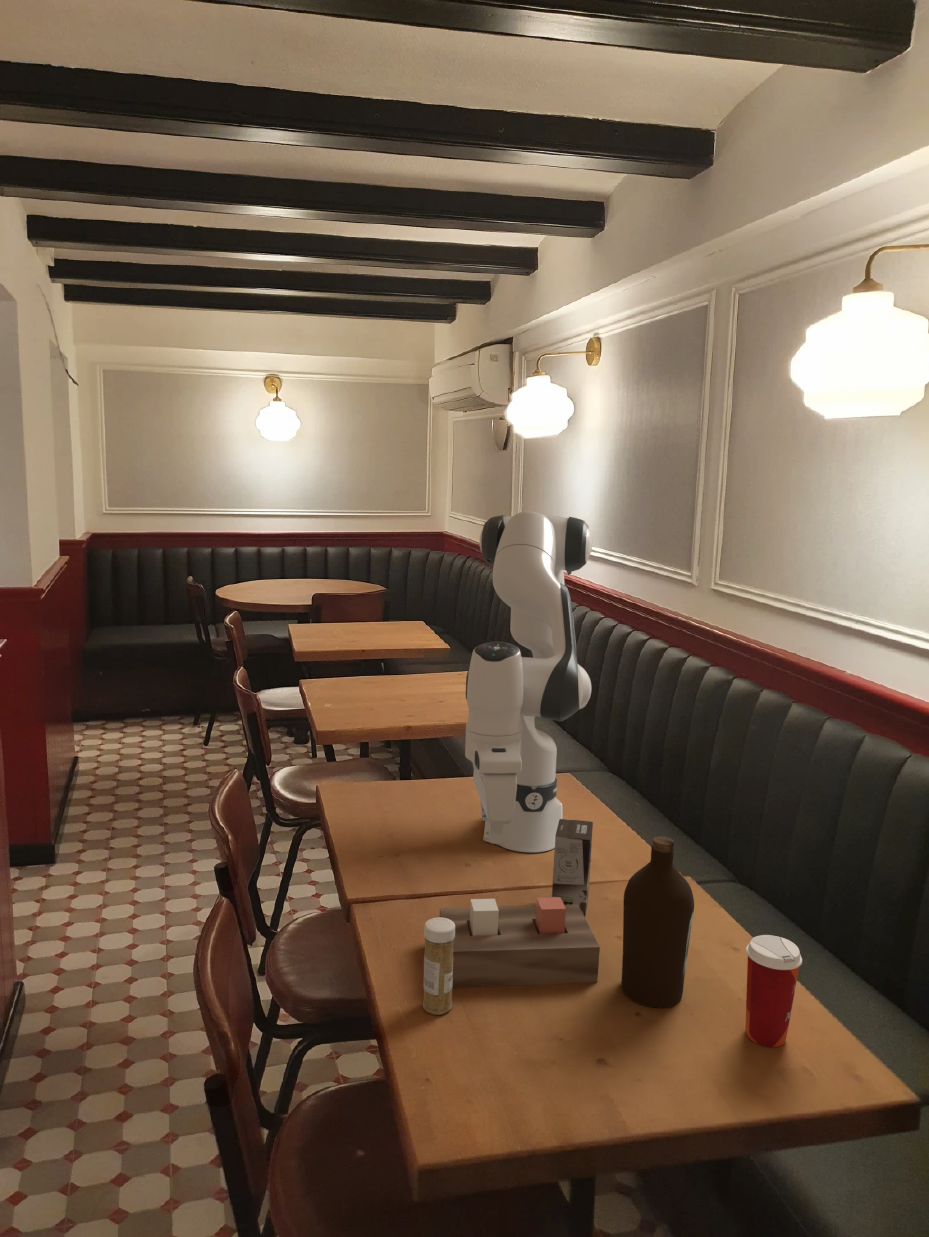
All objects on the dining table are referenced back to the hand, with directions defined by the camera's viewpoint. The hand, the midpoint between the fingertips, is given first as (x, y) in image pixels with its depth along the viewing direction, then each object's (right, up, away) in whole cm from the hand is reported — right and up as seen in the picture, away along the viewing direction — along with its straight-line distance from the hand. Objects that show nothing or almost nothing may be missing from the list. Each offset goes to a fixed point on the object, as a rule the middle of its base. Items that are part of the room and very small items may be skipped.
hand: (490, 830), depth 145 cm
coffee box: (+15, -20, +22) cm, 33 cm away
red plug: (+10, -18, +4) cm, 21 cm away
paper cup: (+40, -27, -13) cm, 50 cm away
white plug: (-1, -18, +3) cm, 19 cm away
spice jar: (-8, -25, -9) cm, 27 cm away
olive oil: (+25, -25, -3) cm, 35 cm away
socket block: (+4, -22, +4) cm, 23 cm away
